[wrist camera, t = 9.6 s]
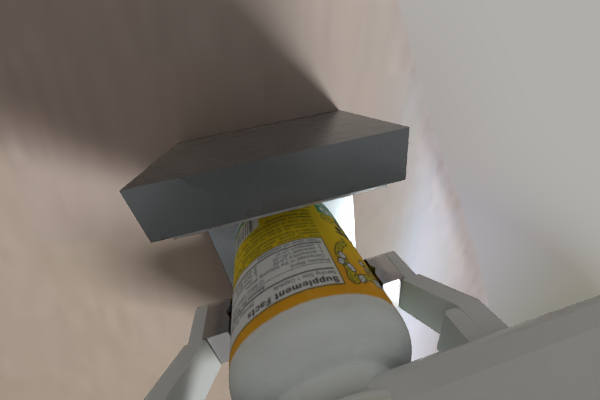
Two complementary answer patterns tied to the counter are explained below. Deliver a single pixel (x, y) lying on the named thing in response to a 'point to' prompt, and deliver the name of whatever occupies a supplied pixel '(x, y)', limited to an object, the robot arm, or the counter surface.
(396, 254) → the robot arm
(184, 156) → the vise base
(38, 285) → the counter surface
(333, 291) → the supplement bottle
